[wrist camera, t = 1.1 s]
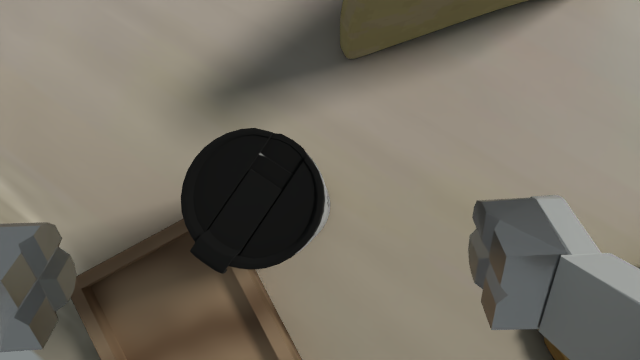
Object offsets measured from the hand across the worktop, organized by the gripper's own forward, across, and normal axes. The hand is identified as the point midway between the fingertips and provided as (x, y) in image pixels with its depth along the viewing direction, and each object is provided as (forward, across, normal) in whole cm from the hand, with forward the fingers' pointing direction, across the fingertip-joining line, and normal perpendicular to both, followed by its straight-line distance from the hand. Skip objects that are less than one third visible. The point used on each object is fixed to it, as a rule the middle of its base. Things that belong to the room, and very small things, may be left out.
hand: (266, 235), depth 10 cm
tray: (+18, -10, -27) cm, 34 cm away
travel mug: (+25, -2, -19) cm, 31 cm away
